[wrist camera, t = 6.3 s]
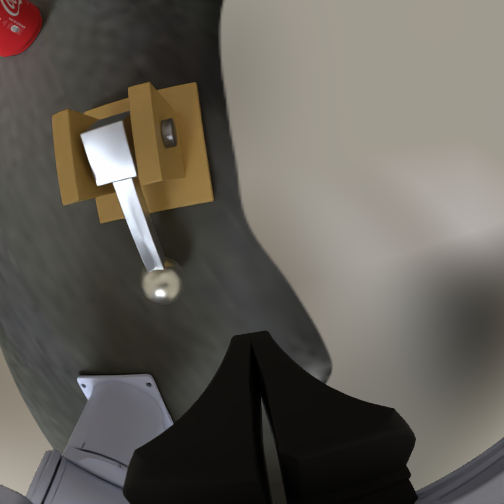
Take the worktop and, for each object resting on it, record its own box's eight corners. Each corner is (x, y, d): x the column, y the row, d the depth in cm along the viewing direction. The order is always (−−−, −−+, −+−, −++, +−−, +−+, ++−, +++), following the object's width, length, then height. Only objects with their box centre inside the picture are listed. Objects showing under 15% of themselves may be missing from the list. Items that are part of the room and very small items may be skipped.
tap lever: (191, 277, 20) (190, 310, 18) (151, 283, 20) (146, 316, 18) (143, 105, 13) (129, 119, 10) (91, 121, 13) (69, 138, 10)
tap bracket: (214, 199, 19) (206, 217, 12) (105, 221, 19) (47, 249, 12) (197, 85, 17) (180, 38, 10) (89, 114, 17) (27, 93, 9)
